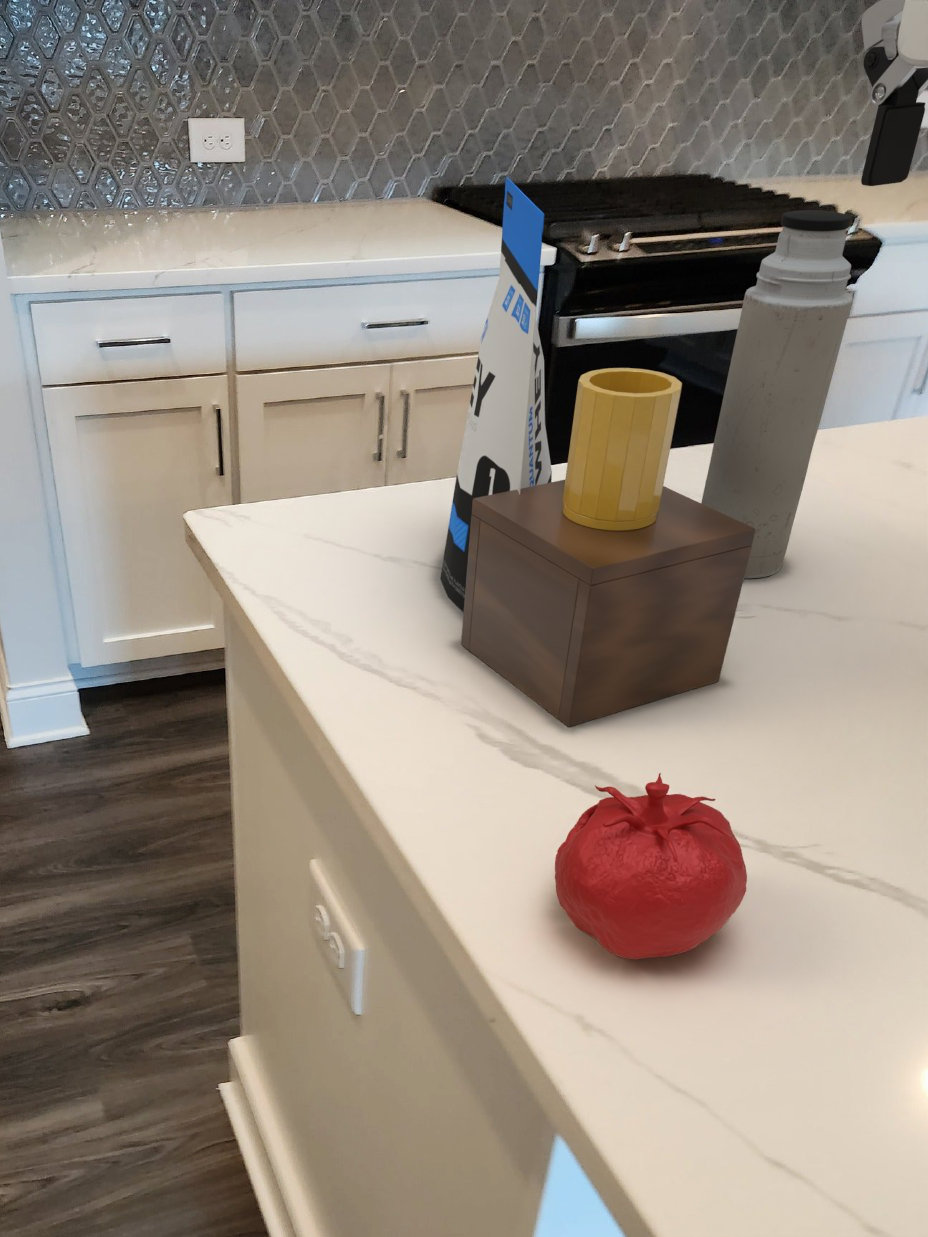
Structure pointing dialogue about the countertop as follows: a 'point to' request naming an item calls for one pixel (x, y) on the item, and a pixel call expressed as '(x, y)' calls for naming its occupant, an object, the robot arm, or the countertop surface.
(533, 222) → the protein powder
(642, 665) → the walnut box
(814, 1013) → the countertop surface
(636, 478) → the cup
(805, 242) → the thermos bottle
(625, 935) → the pomegranate
